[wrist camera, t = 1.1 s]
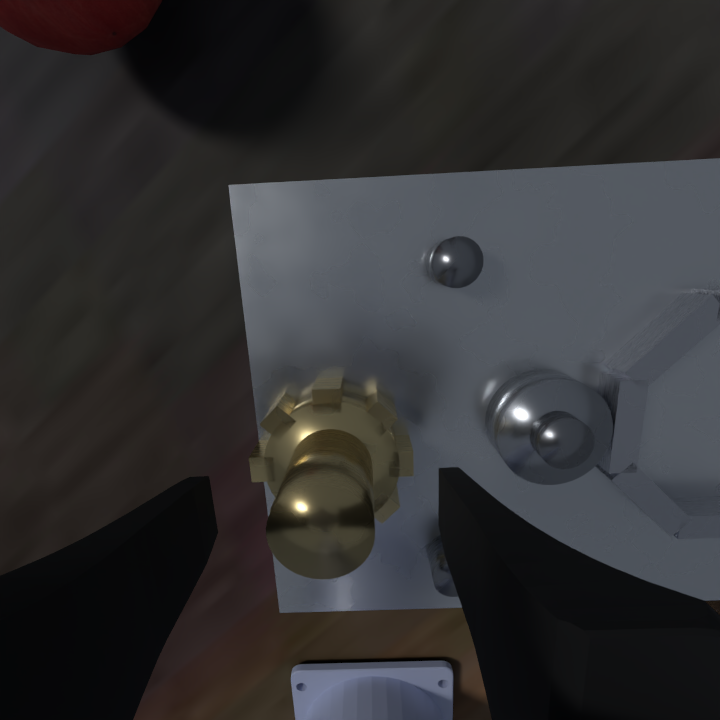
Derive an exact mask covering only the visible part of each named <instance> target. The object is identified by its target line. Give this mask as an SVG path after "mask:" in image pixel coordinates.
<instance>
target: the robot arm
mask: <svg viewBox="0 0 720 720" xmlns="http://www.w3.org/2000/svg"><path fill="white" fill-rule="evenodd" d="M438 525H439V530H440V535H441V540H442V545H443V549H444V554H445V558H446V561H447V564H448V567H449V570H450V573H451V576H452V579H453V582H454V585H455V588H456V591H457V594H458V597H459V600H460V602H461V605H462V608H463V611H464V614H465V617H466V620H467V623H468V626H469V629H470V632H471V636H472V639H473V642H474V646H475V649H476V654H477V658H478V662H479V666H480V670H481V674H482V678H483V682H484V687H485V691H486V695H487V700H488V704H489V708H490V713H491V717H492V720H720V615H719V614H718V613H717V612H716V611H715V610H714V609H713V608H711V607H710V606H709V605H708V604H707V603H706V602H705V601H704V600H701V599H698V598H695V597H692V596H689V595H686V594H683V593H680V592H677V591H674V590H672V589H669V588H666V587H663V586H660V585H657V584H654V583H651V582H648V581H646V580H643V579H640V578H638V577H635V576H633V575H631V574H628V573H626V572H623V571H621V570H618V569H616V568H613V567H611V566H609V565H607V564H604V563H602V562H600V561H598V560H596V559H593V558H591V557H589V556H587V555H585V554H583V553H581V552H579V551H577V550H575V549H573V548H571V547H569V546H568V545H566V544H564V543H562V542H560V541H558V540H557V539H555V538H553V537H552V536H550V535H548V534H546V533H545V532H543V531H541V530H540V529H538V528H536V527H535V526H533V525H532V524H530V523H529V522H527V521H526V520H524V519H523V518H521V517H520V516H519V515H517V514H516V513H514V512H513V511H512V510H510V509H509V508H507V507H506V506H505V505H503V504H502V503H501V502H500V501H498V500H497V499H496V498H494V497H493V496H492V495H491V494H490V493H488V492H487V491H486V490H485V489H483V488H482V487H481V486H480V485H479V484H478V483H476V482H475V481H474V480H473V479H472V478H471V477H470V476H468V475H467V474H466V473H465V472H464V471H463V470H461V469H460V468H459V467H448V468H439V509H438ZM217 534H218V530H217V524H216V517H215V511H214V505H213V499H212V493H211V486H210V480H209V476H204V477H189V478H187V479H185V480H183V481H181V482H179V483H177V484H175V485H174V486H172V487H170V488H169V489H167V490H165V491H164V492H162V493H160V494H159V495H157V496H156V497H154V498H152V499H151V500H149V501H147V502H146V503H144V504H142V505H141V506H139V507H138V508H136V509H134V510H133V511H131V512H129V513H128V514H126V515H124V516H122V517H121V518H119V519H117V520H115V521H114V522H112V523H110V524H108V525H107V526H105V527H103V528H101V529H100V530H98V531H96V532H94V533H92V534H91V535H89V536H87V537H85V538H83V539H81V540H79V541H77V542H75V543H73V544H71V545H69V546H67V547H65V548H63V549H61V550H59V551H57V552H55V553H52V554H50V555H48V556H46V557H44V558H41V559H39V560H37V561H34V562H32V563H30V564H27V565H25V566H23V567H20V568H18V569H15V570H13V571H11V572H8V573H6V574H4V575H1V576H0V720H133V718H134V716H135V713H136V711H137V708H138V706H139V703H140V700H141V698H142V695H143V693H144V691H145V688H146V686H147V683H148V681H149V679H150V676H151V674H152V671H153V669H154V667H155V664H156V662H157V659H158V657H159V655H160V653H161V651H162V649H163V647H164V645H165V642H166V640H167V638H168V636H169V634H170V633H171V631H172V629H173V627H174V625H175V623H176V621H177V619H178V617H179V616H180V614H181V612H182V610H183V608H184V606H185V604H186V602H187V600H188V599H189V597H190V595H191V593H192V591H193V589H194V587H195V585H196V583H197V581H198V579H199V577H200V576H201V574H202V572H203V570H204V568H205V566H206V564H207V561H208V559H209V556H210V553H211V551H212V548H213V545H214V542H215V539H216V537H217ZM291 685H292V694H293V702H294V711H295V719H296V720H453V671H452V666H451V664H450V663H448V662H446V661H442V660H441V661H401V662H361V663H322V664H299V665H296V666H295V667H294V668H293V669H292V674H291Z"/></svg>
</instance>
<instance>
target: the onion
mask: <svg viewBox="0 0 720 720" xmlns="http://www.w3.org/2000/svg"><path fill="white" fill-rule="evenodd" d="M161 2H162V0H0V27H2V28H3V29H5V30H6V31H8V32H10V33H12V34H14V35H15V36H17V37H19V38H21V39H23V40H25V41H27V42H29V43H31V44H33V45H35V46H37V47H41V48H46V49H51V50H56V51H61V52H66V53H72V54H82V55H94V54H97V53H101V52H105V51H109V50H113V49H116V48H120V47H122V46H123V45H125V44H126V43H127V42H129V41H130V40H131V39H133V38H134V37H135V36H137V35H138V34H139V33H141V32H142V31H143V30H145V29H146V28H147V26H148V24H149V23H150V21H151V19H152V18H153V16H154V14H155V12H156V11H157V9H158V7H159V6H160V4H161Z"/></svg>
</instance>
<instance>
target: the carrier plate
mask: <svg viewBox="0 0 720 720" xmlns="http://www.w3.org/2000/svg"><path fill="white" fill-rule="evenodd" d="M229 194H230V202H231V210H232V219H233V227H234V235H235V244H236V252H237V260H238V269H239V277H240V285H241V294H242V302H243V310H244V319H245V327H246V335H247V343H248V352H249V360H250V368H251V377H252V385H253V393H254V402H255V410H256V418H257V427H258V435H259V441H264V440H269V438H270V436H271V434H270V433H269V432H267V431H266V430H265V429H264V428H263V427H261V426H260V423H261V422H262V420H263V419H264V417H265V416H266V414H267V413H268V411H269V410H270V409H271V408H272V407H273V405H274V404H275V403H276V402H277V401H278V400H279V399H280V398H281V397H282V396H283V394H284V393H286V394H287V395H288V396H290V397H291V398H292V399H293V400H294V401H298V400H299V399H301V398H303V397H305V396H307V395H310V394H312V388H313V386H314V383H315V381H316V379H317V378H336V377H343V391H347V392H351V393H354V394H357V395H359V396H362V397H364V398H366V399H367V398H368V397H369V396H370V395H371V394H372V393H373V392H374V391H375V390H376V389H377V390H378V391H379V392H380V393H381V394H383V395H384V396H385V397H386V398H387V399H388V400H389V401H391V402H392V403H393V404H394V405H395V408H396V413H397V417H398V420H397V421H396V422H395V423H394V424H393V425H392V428H393V430H394V433H395V435H409V437H410V441H411V444H412V448H413V461H414V476H408V477H398V482H397V485H396V486H397V489H398V495H399V502H400V508H399V509H398V510H396V511H395V512H394V513H393V514H392V515H391V516H390V517H389V518H388V519H387V520H386V521H385V522H384V523H383V524H382V523H380V522H379V521H378V520H377V519H375V541H374V545H373V548H372V551H371V553H370V555H369V556H368V558H367V559H366V560H365V562H364V563H363V564H362V565H361V566H359V567H358V568H357V569H356V570H354V571H352V572H351V573H349V574H346V575H344V576H341V577H338V578H333V579H312V578H307V577H303V576H301V575H298V574H296V573H294V572H292V571H290V570H289V569H287V568H286V567H284V566H283V565H282V564H281V563H280V562H279V561H278V560H277V559H276V557H275V556H274V555H273V560H274V568H275V576H276V585H277V593H278V601H279V610H280V613H286V612H321V611H356V610H392V609H427V608H462V605H461V602H460V600H459V597H458V594H457V591H456V588H455V585H454V582H453V579H452V576H451V573H450V570H449V567H448V564H447V561H446V558H445V554H444V549H443V545H442V540H441V535H440V530H439V525H438V509H439V468H448V467H459V468H460V469H461V470H463V471H464V472H465V473H466V474H467V475H468V476H470V477H471V478H472V479H473V480H474V481H475V482H476V483H478V484H479V485H480V486H481V487H482V488H483V489H485V490H486V491H487V492H488V493H490V494H491V495H492V496H493V497H494V498H496V499H497V500H498V501H500V502H501V503H502V504H503V505H505V506H506V507H507V508H509V509H510V510H512V511H513V512H514V513H516V514H517V515H519V516H520V517H521V518H523V519H524V520H526V521H527V522H529V523H530V524H532V525H533V526H535V527H536V528H538V529H540V530H541V531H543V532H545V533H546V534H548V535H550V536H552V537H553V538H555V539H557V540H558V541H560V542H562V543H564V544H566V545H568V546H569V547H571V548H573V549H575V550H577V551H579V552H581V553H583V554H585V555H587V556H589V557H591V558H593V559H596V560H598V561H600V562H602V563H604V564H607V565H609V566H611V567H613V568H616V569H618V570H621V571H623V572H626V573H628V574H631V575H633V576H635V577H638V578H640V579H643V580H646V581H648V582H651V583H654V584H657V585H660V586H663V587H666V588H669V589H672V590H674V591H677V592H680V593H683V594H686V595H689V596H692V597H695V598H698V599H701V600H704V601H709V600H720V158H718V159H700V160H682V161H663V162H645V163H626V164H608V165H589V166H571V167H553V168H534V169H516V170H497V171H479V172H460V173H442V174H424V175H405V176H387V177H368V178H350V179H331V180H313V181H295V182H276V183H258V184H239V185H229ZM264 485H265V493H266V502H267V510H268V517H269V515H270V509H271V507H272V504H273V501H274V499H275V496H274V495H273V494H272V492H271V490H270V488H269V486H268V483H267V482H264Z"/></svg>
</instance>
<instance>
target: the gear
mask: <svg viewBox="0 0 720 720" xmlns="http://www.w3.org/2000/svg"><path fill="white" fill-rule="evenodd" d="M397 420H398V417H397V413H396V408H395V405H394V404H393V403H392V402H391V401H389V400H388V399H387V398H386V397H385V396H384V395H383V394H381V393H380V392H379V391H378V390H377V389H376V390H375V391H374V392H373V393H372V394H371V395H370V396H369V397H368V398H367V399H366V398H364V397H362V396H359V395H357V394H354V393H351V392H347V391H343V377H336V378H317V379H316V381H315V383H314V386H313V388H312V394H310V395H307V396H305V397H303V398H301V399H299V400H298V401H294V400H293V399H292V398H291V397H290V396H288V395H287V394H286V393H284V394H283V396H282V397H281V398H280V399H279V400H278V401H277V402H276V403H275V404H274V405H273V407H272V408H271V409H270V410H269V411H268V413H267V414H266V416H265V417H264V419H263V420H262V422H261V423H260V426H261V427H263V428H264V429H265V430H266V431H267V432H269V433H270V434H271V436H270V438H269V440H264V441H259V442H258V443H257V445H256V447H255V448H254V450H253V452H252V453H251V455H250V457H249V463H250V470H251V478H252V482H267V483H268V486H269V488H270V490H271V492H272V494H273V495H274V496H275V499H274V501H273V504H272V507H271V509H270V515H269V517H268V521H267V526H266V536H267V541H268V544H269V547H270V549H271V551H272V553H273V555H274V556H275V557H276V559H277V560H278V561H279V562H280V563H281V564H282V565H283V566H284V567H286V568H287V569H289V570H290V571H292V572H294V573H296V574H298V575H301V576H303V577H307V578H312V579H333V578H338V577H341V576H344V575H346V574H349V573H351V572H352V571H354V570H356V569H357V568H358V567H359V566H361V565H362V564H363V563H364V562H365V560H366V559H367V558H368V556H369V555H370V553H371V551H372V548H373V545H374V541H375V519H377V520H378V521H379V522H380V523H382V524H383V523H384V522H385V521H386V520H387V519H388V518H389V517H390V516H391V515H392V514H393V513H394V512H395V511H396V510H398V509H399V508H400V502H399V495H398V489H397V486H396V485H397V482H398V477H408V476H414V461H413V448H412V444H411V441H410V437H409V435H395V433H394V430H393V428H392V425H393V424H394V423H395V422H396V421H397Z"/></svg>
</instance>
